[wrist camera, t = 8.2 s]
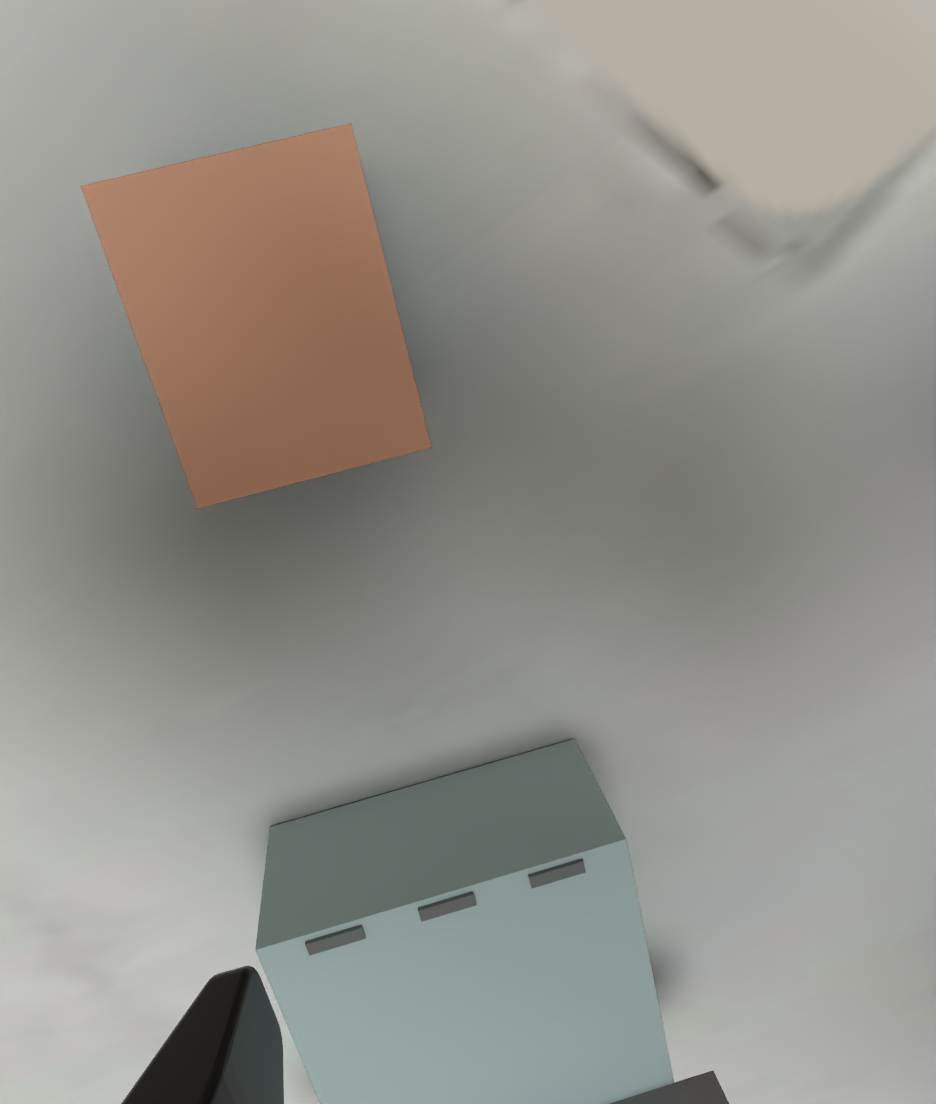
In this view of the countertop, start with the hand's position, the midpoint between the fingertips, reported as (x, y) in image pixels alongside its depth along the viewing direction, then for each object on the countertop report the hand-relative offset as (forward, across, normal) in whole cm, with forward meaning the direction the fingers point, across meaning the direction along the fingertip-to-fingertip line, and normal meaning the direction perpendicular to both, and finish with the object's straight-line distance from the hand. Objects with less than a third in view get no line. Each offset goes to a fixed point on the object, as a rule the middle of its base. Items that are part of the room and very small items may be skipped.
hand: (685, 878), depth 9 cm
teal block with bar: (+12, +3, +11) cm, 16 cm away
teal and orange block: (+11, +3, -6) cm, 13 cm away
